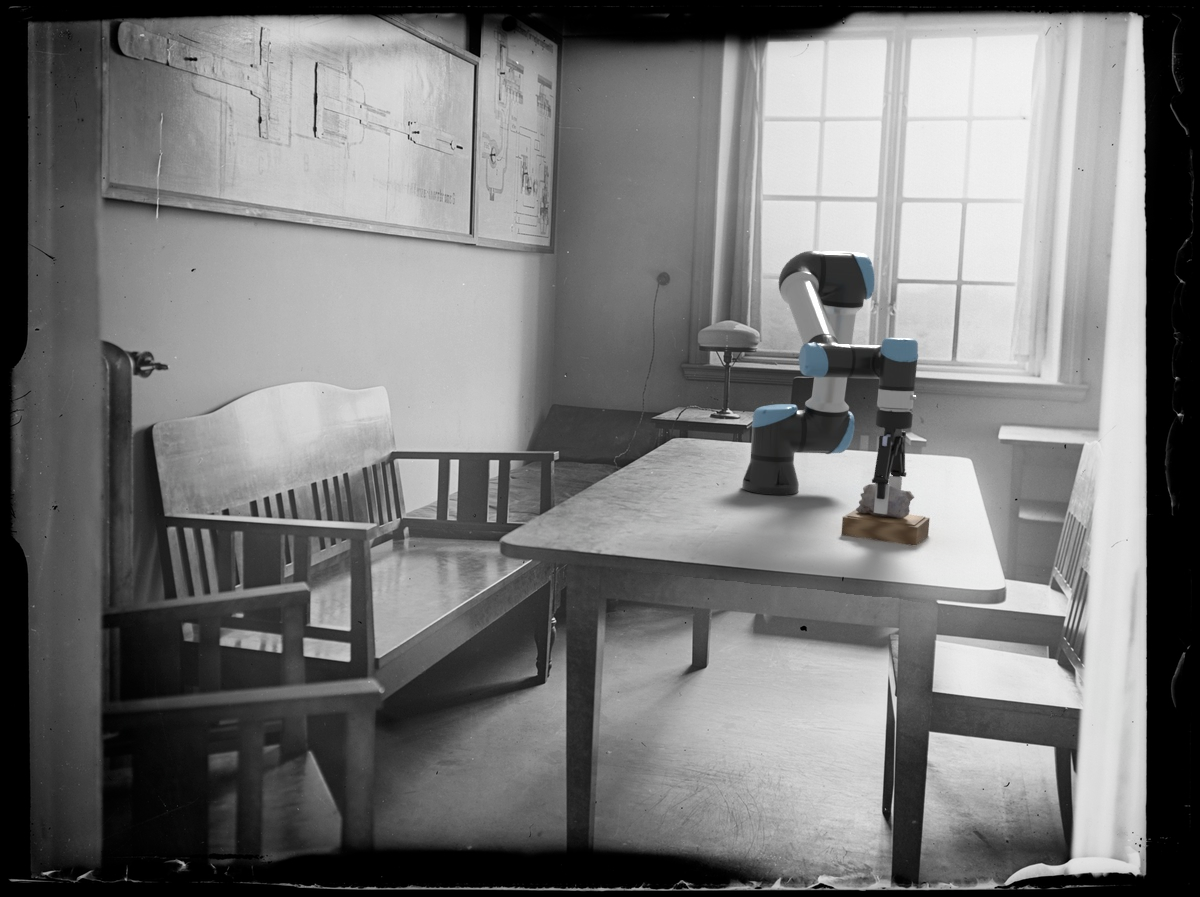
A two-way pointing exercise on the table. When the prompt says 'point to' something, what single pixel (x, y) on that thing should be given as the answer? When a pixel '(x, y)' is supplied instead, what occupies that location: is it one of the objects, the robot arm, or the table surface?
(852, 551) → the table surface
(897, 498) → the stone
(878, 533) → the walnut slab
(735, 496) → the table surface
